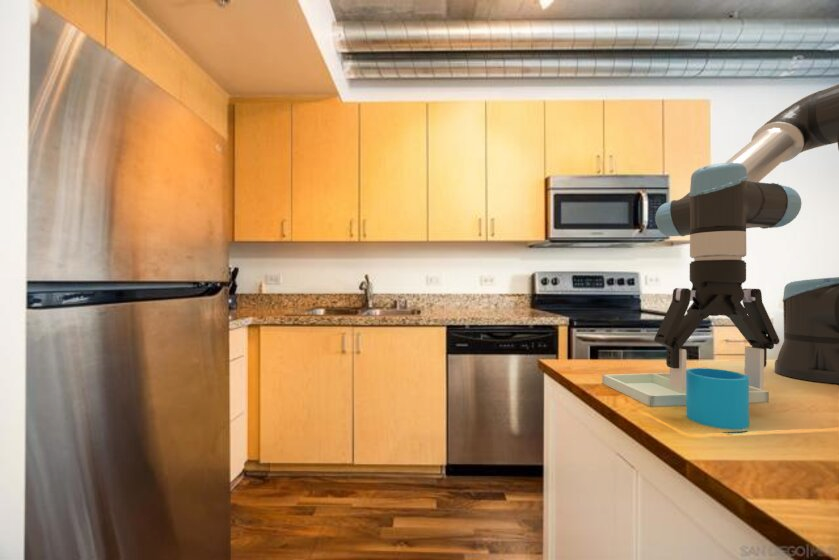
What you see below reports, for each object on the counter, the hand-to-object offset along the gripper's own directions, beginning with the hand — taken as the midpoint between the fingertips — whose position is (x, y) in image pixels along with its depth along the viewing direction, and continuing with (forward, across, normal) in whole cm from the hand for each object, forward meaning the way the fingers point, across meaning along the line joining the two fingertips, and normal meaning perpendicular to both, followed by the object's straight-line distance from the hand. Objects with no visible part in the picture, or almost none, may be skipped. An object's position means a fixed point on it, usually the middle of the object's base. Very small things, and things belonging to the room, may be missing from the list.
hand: (716, 387), depth 66 cm
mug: (+6, 0, 0) cm, 6 cm away
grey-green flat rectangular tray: (+5, -4, -14) cm, 16 cm away
